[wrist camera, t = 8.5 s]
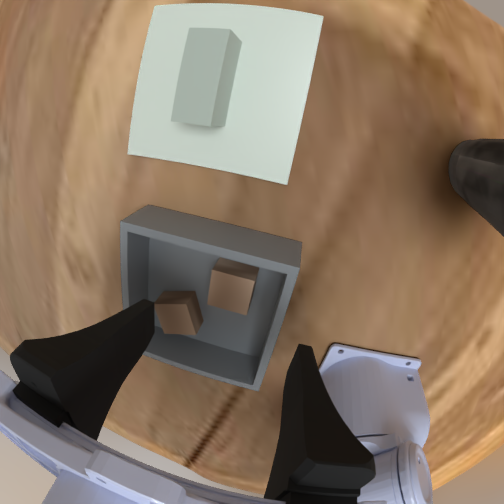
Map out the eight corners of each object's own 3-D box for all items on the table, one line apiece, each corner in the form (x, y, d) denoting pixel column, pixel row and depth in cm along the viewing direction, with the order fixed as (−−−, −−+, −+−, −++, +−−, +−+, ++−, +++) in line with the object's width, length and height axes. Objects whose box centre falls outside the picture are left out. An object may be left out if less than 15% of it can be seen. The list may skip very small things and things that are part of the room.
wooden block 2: (259, 267, 22) (254, 281, 20) (251, 300, 23) (246, 315, 21) (220, 257, 22) (212, 269, 20) (214, 290, 23) (207, 304, 22)
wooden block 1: (195, 290, 24) (186, 304, 22) (203, 320, 25) (196, 335, 23) (163, 291, 24) (153, 304, 23) (173, 319, 26) (164, 333, 24)
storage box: (301, 242, 21) (300, 268, 17) (265, 359, 26) (258, 391, 23) (148, 204, 22) (120, 221, 18) (146, 322, 27) (127, 348, 24)
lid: (322, 20, 15) (325, -2, 11) (287, 182, 20) (282, 195, 16) (160, 9, 16) (134, -7, 12) (134, 152, 21) (104, 160, 17)
